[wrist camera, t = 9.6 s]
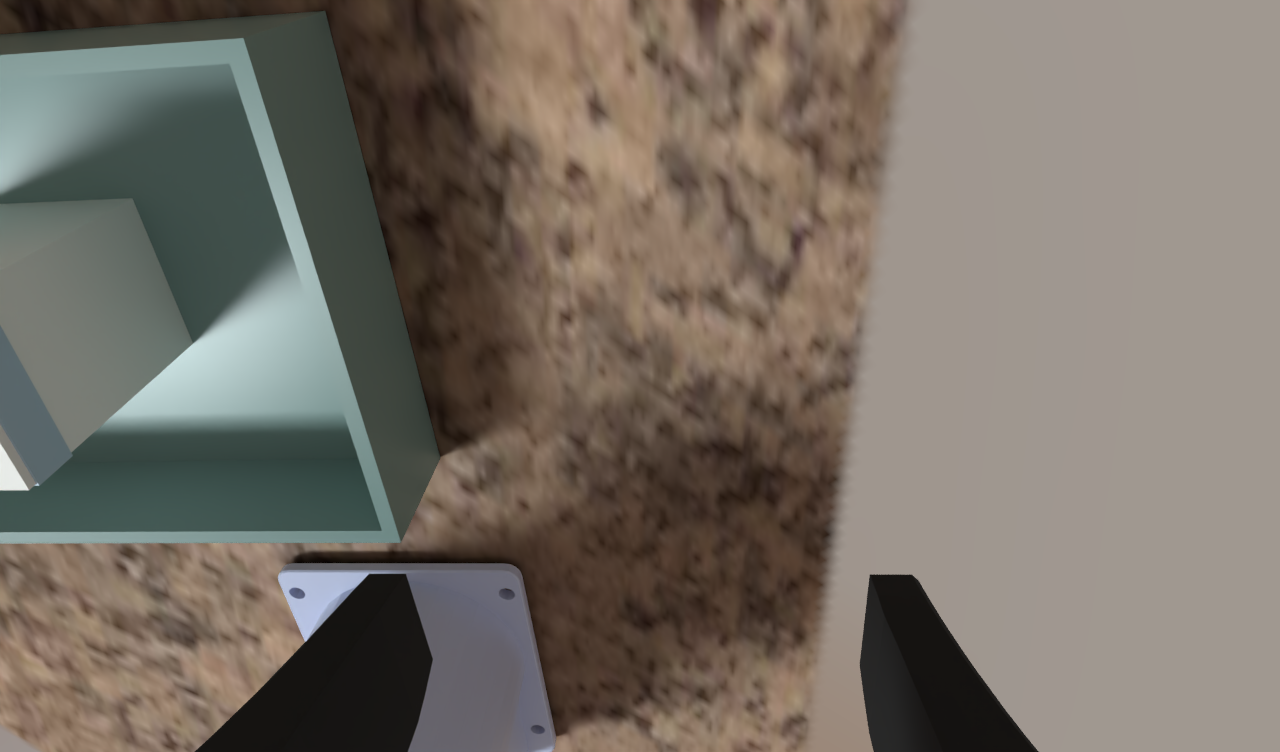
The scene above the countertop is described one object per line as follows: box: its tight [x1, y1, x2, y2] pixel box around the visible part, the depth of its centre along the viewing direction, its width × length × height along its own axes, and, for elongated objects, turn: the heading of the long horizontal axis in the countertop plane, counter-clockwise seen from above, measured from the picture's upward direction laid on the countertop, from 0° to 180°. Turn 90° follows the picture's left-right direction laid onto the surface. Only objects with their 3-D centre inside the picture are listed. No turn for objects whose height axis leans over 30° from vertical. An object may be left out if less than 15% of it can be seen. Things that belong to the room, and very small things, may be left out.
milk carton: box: [0, 198, 193, 490], centre depth 18 cm, size 4×4×6 cm
